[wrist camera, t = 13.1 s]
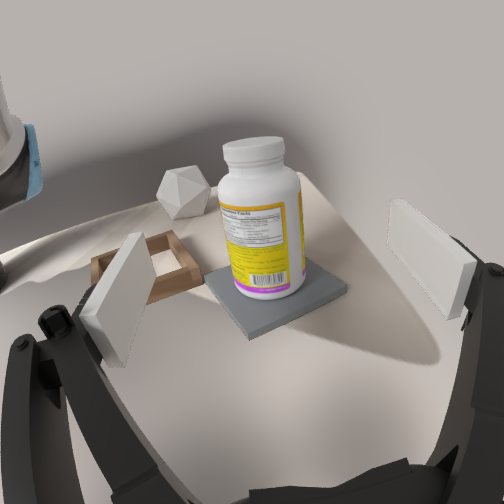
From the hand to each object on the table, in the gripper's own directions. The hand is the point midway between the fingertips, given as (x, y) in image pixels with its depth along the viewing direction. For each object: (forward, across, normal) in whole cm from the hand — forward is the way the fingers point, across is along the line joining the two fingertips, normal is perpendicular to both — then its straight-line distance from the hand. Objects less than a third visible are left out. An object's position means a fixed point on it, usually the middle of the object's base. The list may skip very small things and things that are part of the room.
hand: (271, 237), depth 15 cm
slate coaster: (+10, 0, -10) cm, 14 cm away
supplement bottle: (+10, 0, -10) cm, 14 cm away
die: (+33, -11, -10) cm, 36 cm away
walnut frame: (+15, -14, -10) cm, 23 cm away
